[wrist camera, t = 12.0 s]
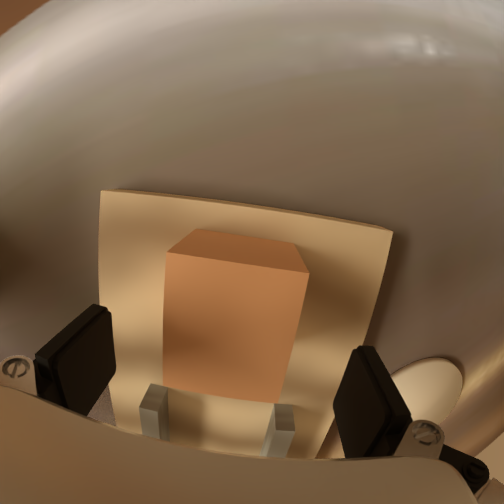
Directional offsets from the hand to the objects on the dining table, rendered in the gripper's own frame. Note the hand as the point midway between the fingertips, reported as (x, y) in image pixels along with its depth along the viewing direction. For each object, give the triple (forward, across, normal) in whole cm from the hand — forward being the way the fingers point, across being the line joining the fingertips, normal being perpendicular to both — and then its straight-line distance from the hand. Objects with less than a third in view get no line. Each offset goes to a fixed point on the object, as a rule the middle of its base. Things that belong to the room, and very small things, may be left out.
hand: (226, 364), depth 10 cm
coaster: (+8, -16, +9) cm, 20 cm away
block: (+6, 0, -1) cm, 6 cm away
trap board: (+7, 0, +10) cm, 12 cm away
